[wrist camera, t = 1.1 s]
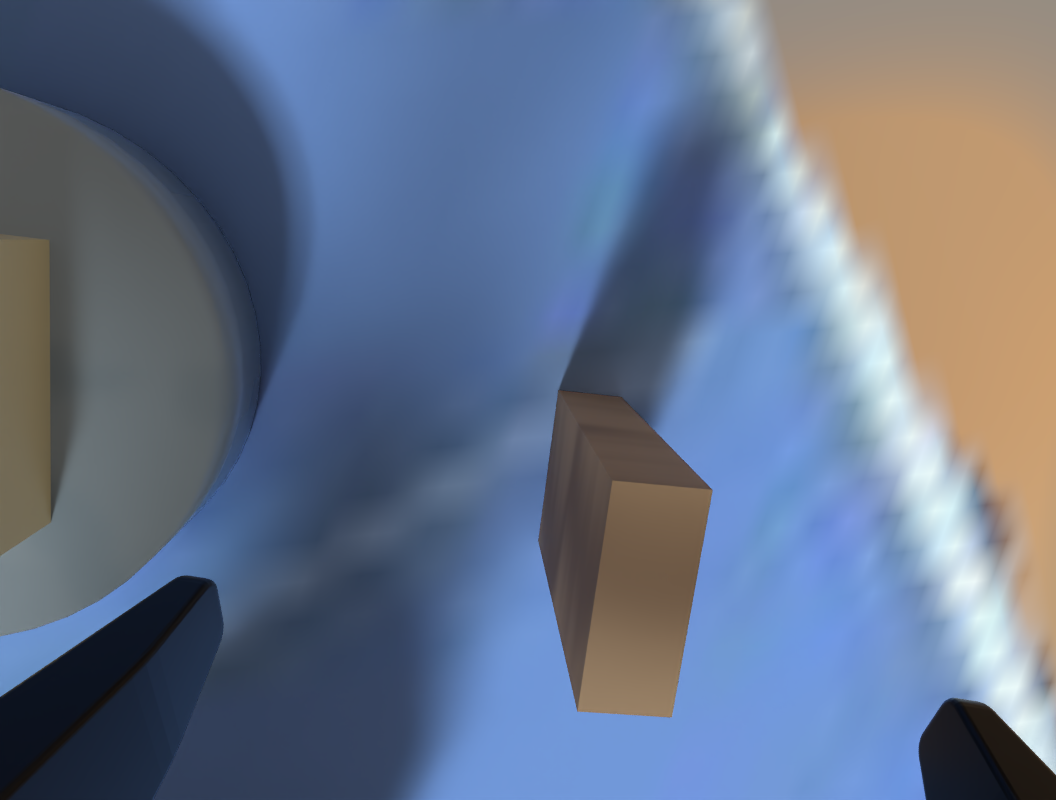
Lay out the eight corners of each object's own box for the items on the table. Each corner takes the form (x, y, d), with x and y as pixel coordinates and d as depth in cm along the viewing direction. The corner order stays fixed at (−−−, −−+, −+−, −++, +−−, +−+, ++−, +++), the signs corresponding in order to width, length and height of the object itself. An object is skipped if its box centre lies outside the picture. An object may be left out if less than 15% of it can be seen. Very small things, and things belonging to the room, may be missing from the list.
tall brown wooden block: (598, 545, 24) (671, 717, 15) (538, 540, 24) (577, 711, 15) (621, 396, 23) (712, 490, 14) (558, 390, 23) (612, 480, 14)
